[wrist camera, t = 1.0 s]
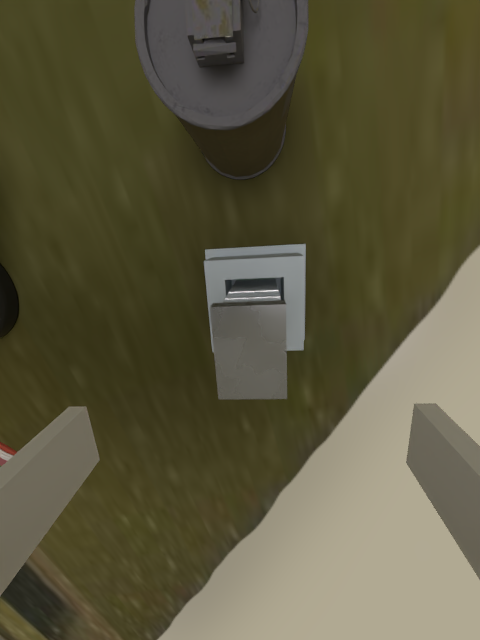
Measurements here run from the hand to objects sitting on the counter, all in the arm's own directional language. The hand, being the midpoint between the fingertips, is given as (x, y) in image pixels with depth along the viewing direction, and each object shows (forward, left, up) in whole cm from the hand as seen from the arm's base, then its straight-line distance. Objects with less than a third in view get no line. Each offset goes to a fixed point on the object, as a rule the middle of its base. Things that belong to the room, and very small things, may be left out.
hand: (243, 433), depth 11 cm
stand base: (0, 0, -28) cm, 28 cm away
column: (0, 0, -27) cm, 27 cm away
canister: (-1, +20, -29) cm, 35 cm away
